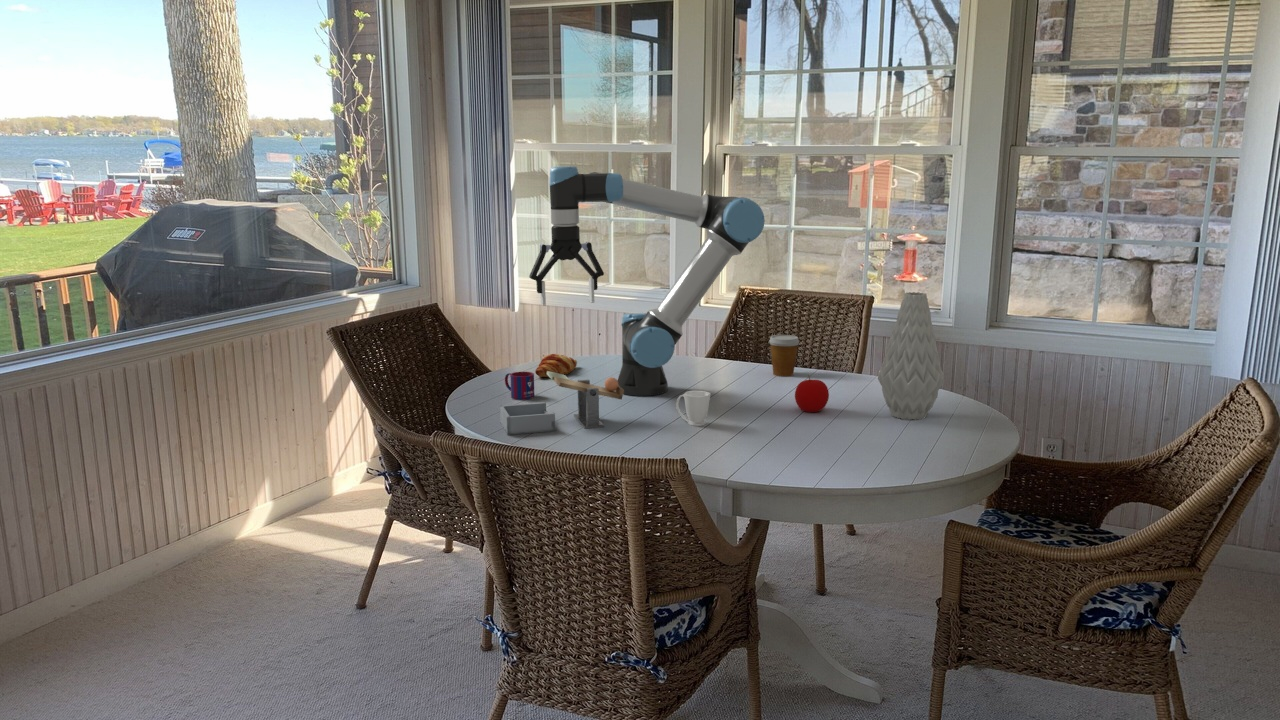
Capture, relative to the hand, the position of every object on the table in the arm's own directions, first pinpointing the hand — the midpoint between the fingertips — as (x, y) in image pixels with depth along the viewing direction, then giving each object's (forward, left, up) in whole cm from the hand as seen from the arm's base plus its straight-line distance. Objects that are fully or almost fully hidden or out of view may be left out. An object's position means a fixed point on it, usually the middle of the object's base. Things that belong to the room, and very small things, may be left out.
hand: (567, 303), depth 260 cm
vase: (-83, +39, -29) cm, 96 cm away
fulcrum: (-1, +19, -28) cm, 34 cm away
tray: (+15, +19, -28) cm, 37 cm away
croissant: (-5, -40, -29) cm, 50 cm away
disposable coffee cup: (-73, -17, -29) cm, 81 cm away
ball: (-7, +19, -19) cm, 28 cm away
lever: (0, +15, -20) cm, 25 cm away
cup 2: (-26, +28, -29) cm, 48 cm away
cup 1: (+12, -14, -29) cm, 34 cm away
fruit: (-61, +26, -29) cm, 72 cm away
